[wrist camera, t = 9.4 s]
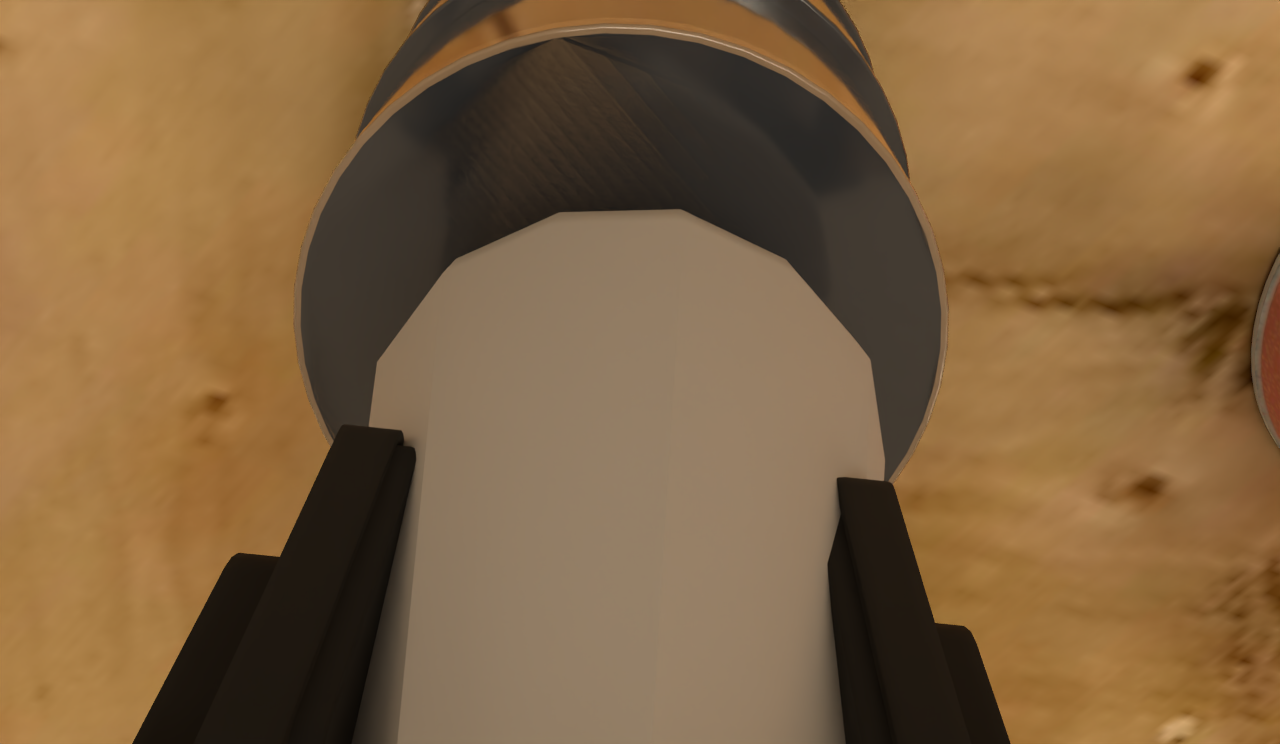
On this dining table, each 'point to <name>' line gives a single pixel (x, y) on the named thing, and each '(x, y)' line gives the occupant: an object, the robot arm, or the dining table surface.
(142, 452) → the dining table surface
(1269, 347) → the canned food
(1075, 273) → the dining table surface
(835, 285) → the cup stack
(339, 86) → the dining table surface
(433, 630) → the salt shaker
